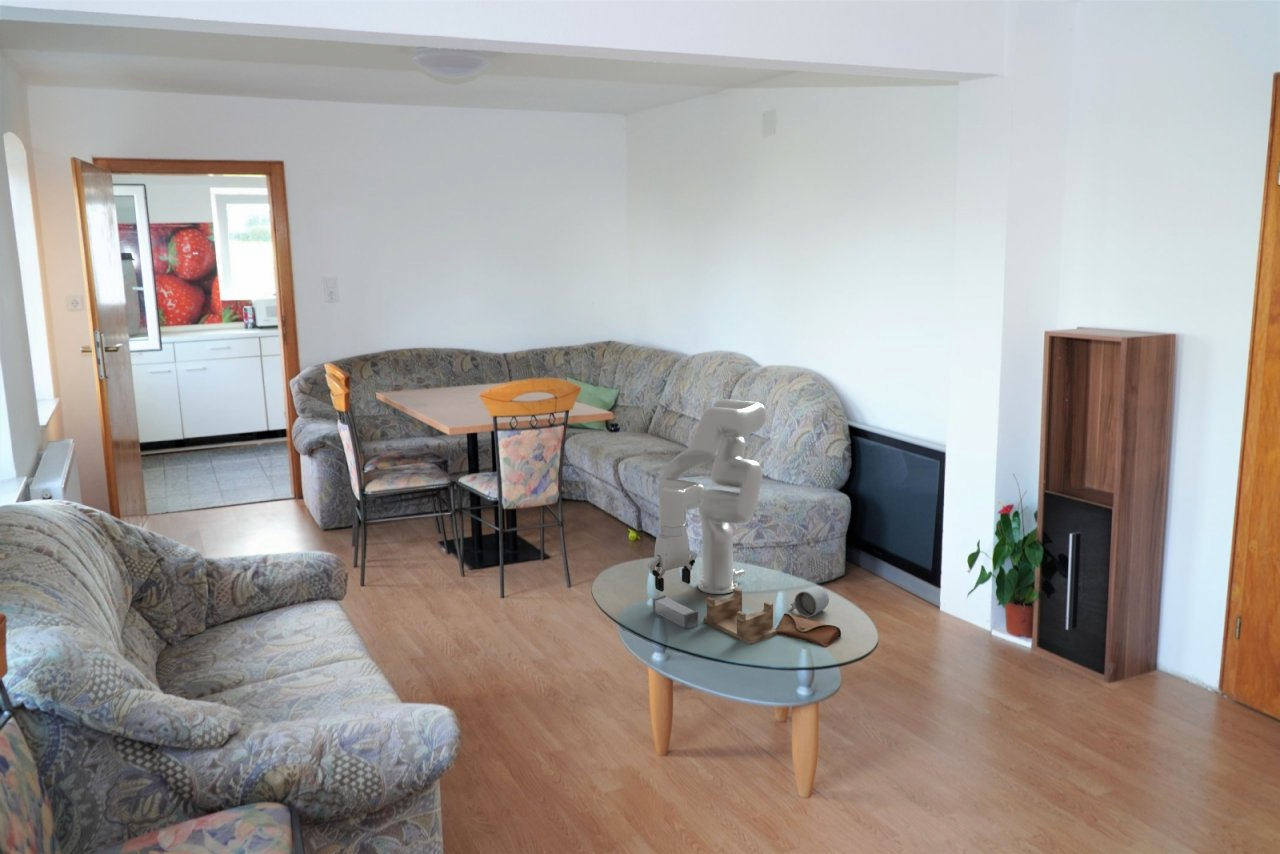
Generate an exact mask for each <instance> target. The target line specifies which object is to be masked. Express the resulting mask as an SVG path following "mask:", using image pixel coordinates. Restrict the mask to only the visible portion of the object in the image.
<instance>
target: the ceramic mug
mask: <svg viewBox="0 0 1280 854" xmlns="http://www.w3.org/2000/svg"><path fill="white" fill-rule="evenodd" d="M794 597H795V598H794V600H793V602H791V603H790V606H792V607H791V609H792V608H793V609H792V610H796V611H797V612H798V614H799V615H801V616H803V617H805V618H811V617H813V616H815V615H816V614H818V613H820V612H821V611H823V610H824V609H826V608H827V606H828V605H829V603H830V597H829V593H828V592H827V590H826V589H825V588H823V587H821V586H812V587H809V588H806V589H804V590H801V591H800V592H798V593H797V594H796V595H795V596H794Z"/></svg>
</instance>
